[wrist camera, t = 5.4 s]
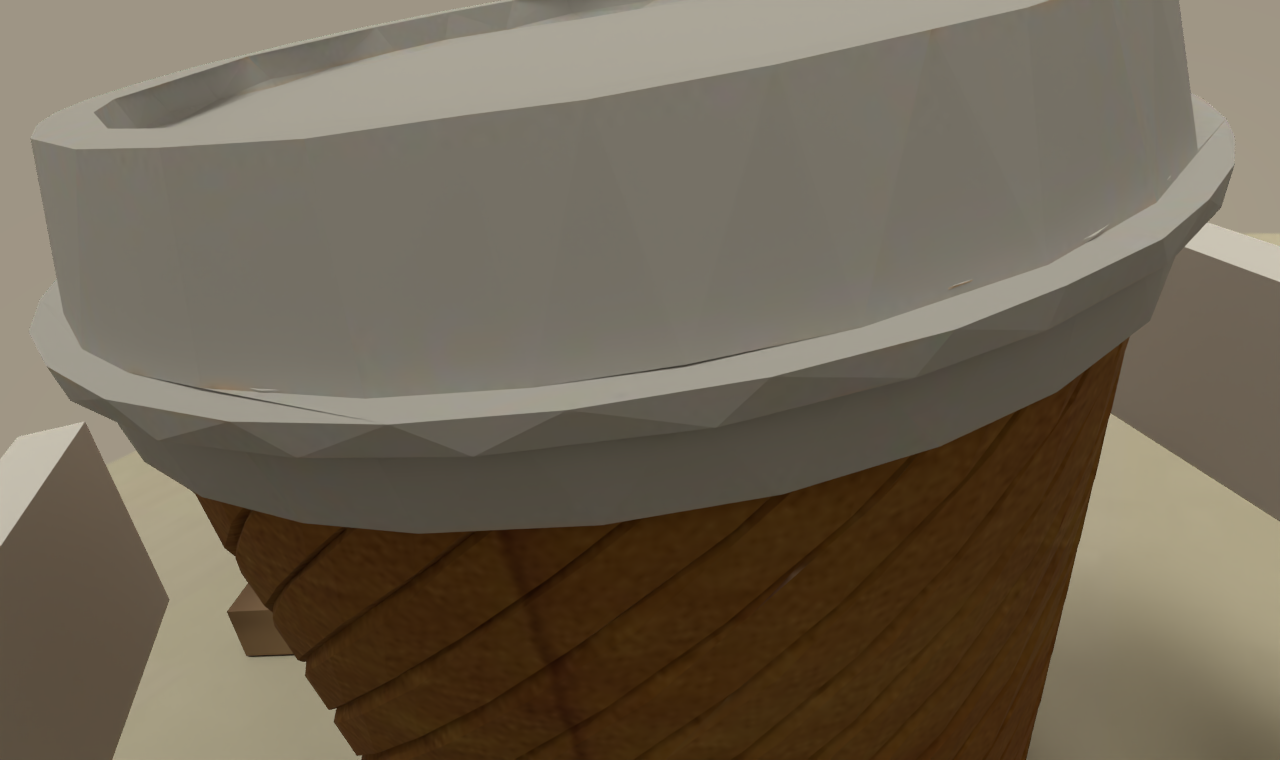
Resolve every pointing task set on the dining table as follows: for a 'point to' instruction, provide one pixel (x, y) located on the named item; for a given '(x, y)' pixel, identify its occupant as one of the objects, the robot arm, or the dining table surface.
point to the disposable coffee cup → (642, 353)
